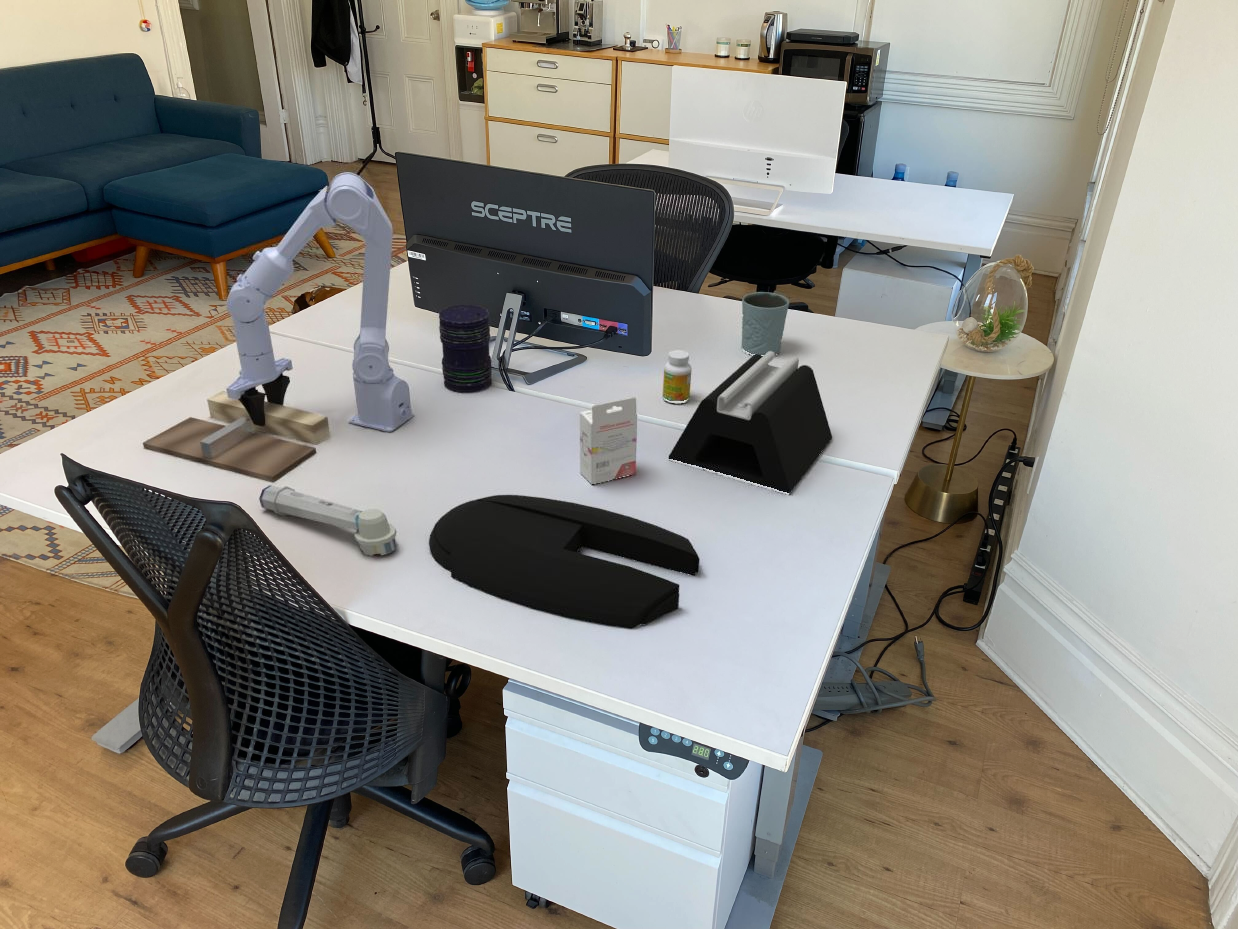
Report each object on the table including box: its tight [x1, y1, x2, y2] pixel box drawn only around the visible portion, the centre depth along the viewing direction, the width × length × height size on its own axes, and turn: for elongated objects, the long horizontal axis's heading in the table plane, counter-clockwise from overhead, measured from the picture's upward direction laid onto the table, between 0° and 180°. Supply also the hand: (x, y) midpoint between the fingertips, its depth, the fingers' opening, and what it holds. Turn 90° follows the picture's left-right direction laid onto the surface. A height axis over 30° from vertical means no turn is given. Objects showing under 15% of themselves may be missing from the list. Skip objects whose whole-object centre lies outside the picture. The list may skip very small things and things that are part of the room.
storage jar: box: [438, 304, 493, 394], centre depth 183 cm, size 10×10×15 cm
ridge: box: [200, 417, 255, 459], centre depth 159 cm, size 2×10×3 cm, turn 158°
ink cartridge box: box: [579, 396, 638, 485], centre depth 153 cm, size 9×5×15 cm, turn 117°
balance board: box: [142, 416, 317, 483], centre depth 160 cm, size 28×11×1 cm, turn 68°
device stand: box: [668, 351, 833, 494], centre depth 162 cm, size 22×22×15 cm
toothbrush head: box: [258, 484, 398, 557], centre depth 139 cm, size 5×7×25 cm
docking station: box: [428, 494, 700, 629], centre depth 134 cm, size 25×40×5 cm, turn 68°
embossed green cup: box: [741, 291, 790, 356], centre depth 203 cm, size 10×10×12 cm
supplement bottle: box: [662, 349, 693, 401], centre depth 181 cm, size 5×5×10 cm
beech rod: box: [206, 390, 331, 446], centre depth 167 cm, size 24×4×4 cm, turn 67°
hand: (268, 419), depth 168 cm, fingers closed on beech rod, 4 cm apart
